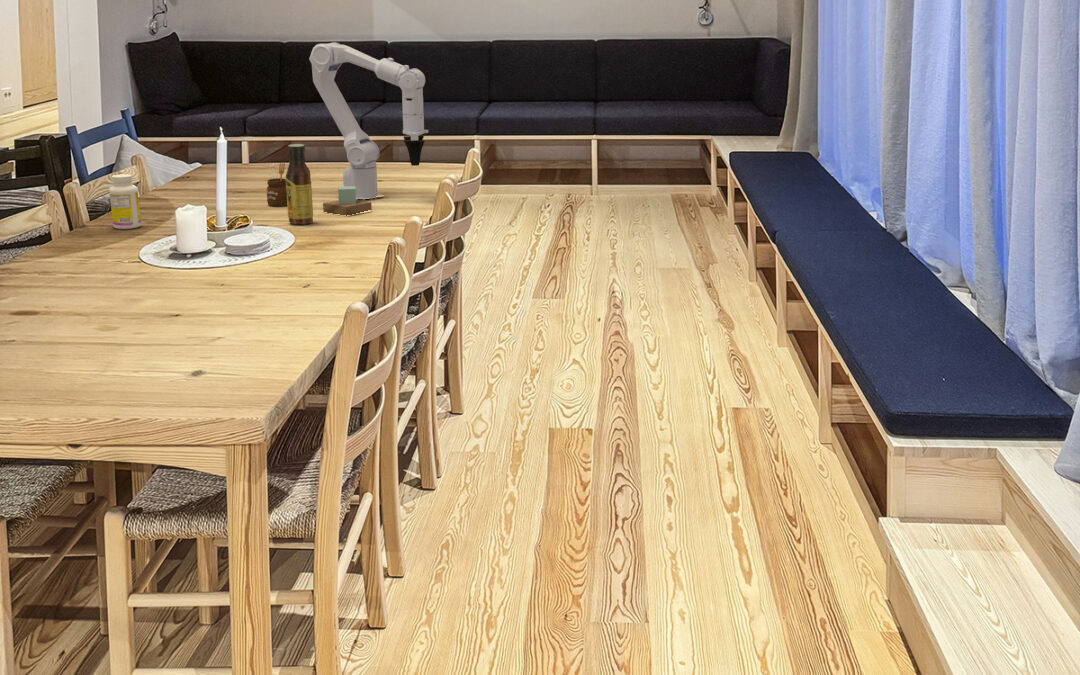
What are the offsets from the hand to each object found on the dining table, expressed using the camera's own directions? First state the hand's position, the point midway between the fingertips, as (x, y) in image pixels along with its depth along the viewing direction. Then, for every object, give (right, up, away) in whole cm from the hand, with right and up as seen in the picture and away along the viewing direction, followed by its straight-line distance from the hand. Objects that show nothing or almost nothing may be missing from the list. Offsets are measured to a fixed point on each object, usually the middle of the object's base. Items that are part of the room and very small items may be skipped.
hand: (414, 163), depth 310 cm
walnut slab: (-16, -16, -14) cm, 27 cm away
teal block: (-16, -13, -15) cm, 25 cm away
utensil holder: (-37, -12, -5) cm, 39 cm away
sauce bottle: (-26, -20, -29) cm, 43 cm away
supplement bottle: (-68, -21, -34) cm, 79 cm away
